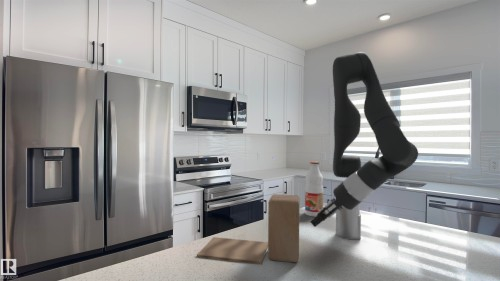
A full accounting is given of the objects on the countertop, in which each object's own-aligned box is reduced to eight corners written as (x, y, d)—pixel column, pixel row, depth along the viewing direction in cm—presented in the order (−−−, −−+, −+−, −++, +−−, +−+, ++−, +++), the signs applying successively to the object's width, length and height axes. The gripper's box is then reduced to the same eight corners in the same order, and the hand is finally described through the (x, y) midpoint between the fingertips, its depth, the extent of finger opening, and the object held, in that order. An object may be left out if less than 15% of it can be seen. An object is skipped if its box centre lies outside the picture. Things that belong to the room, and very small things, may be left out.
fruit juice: (326, 216, 135) (326, 162, 135) (309, 217, 133) (309, 162, 133) (318, 211, 144) (318, 160, 144) (302, 212, 142) (302, 161, 142)
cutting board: (268, 244, 98) (268, 242, 98) (261, 264, 83) (261, 261, 83) (213, 239, 103) (213, 237, 103) (196, 256, 88) (196, 254, 88)
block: (298, 264, 83) (299, 201, 83) (267, 260, 85) (268, 199, 85) (299, 250, 93) (299, 195, 93) (271, 248, 95) (271, 193, 95)
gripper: (350, 177, 83) (312, 209, 90) (338, 183, 72) (296, 219, 79) (367, 196, 80) (327, 228, 87) (358, 205, 69) (313, 240, 76)
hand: (313, 223), depth 83 cm, fingers closed
